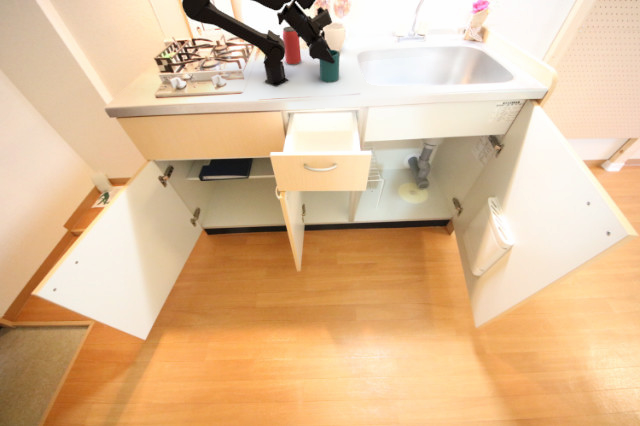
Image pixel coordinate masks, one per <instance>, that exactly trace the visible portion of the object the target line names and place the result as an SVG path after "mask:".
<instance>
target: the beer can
mask: <svg viewBox="0 0 640 426" xmlns="http://www.w3.org/2000/svg"><path fill="white" fill-rule="evenodd" d="M282 30H283V31H282V40H283V41H284V43H285V56H284V59H285V63H286V64H288V65H298V64H300V63H301V62H302V56H301V43H300V38H299V37H298V36H297V33H296V32H295V31H294V30H293V29H292V28H291V26H285V27H284V28H282Z"/></svg>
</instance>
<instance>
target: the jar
mask: <svg viewBox="0 0 640 426" xmlns="http://www.w3.org/2000/svg"><path fill="white" fill-rule="evenodd" d="M328 51H329V52H330V54H331V55H332V57H333V59H334V60H335V62H334V64H332V63H329V62H326V61H323V60H320V59H318V60H319V80H320V81H322V82H324V83H334V82H337V81H338V80H339V78H340V52H339V51H336V50H328Z"/></svg>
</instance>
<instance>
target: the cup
mask: <svg viewBox="0 0 640 426" xmlns="http://www.w3.org/2000/svg"><path fill="white" fill-rule="evenodd" d="M345 27H346V26H345V25H344V24H343V23H340V22H332V23H331V24H330V25H327V26H325V27H324V28H323V31H324V32H325V40H326V41H327V44H328V46H329V47H330V49H331V50H336V51H338V52H339V51H341V50H342V48H343V47H344V44H345V41H346V28H345ZM323 31H322V30H321V32H320V33H322V32H323Z"/></svg>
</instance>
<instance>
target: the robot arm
mask: <svg viewBox="0 0 640 426" xmlns="http://www.w3.org/2000/svg"><path fill="white" fill-rule="evenodd" d="M316 1H317V0H251V2H256V3H258V4H260V5H261V6H263V7H264V8H268V9H270V10H272V11H275V12H277V11H278V12H277V13H276V16H277V19H278V25H279V26H281V25H282V23H283V22H285V23H287V25H288V26H289V27H291V28H292V29H293V30H294V31H295V32H296V33H297V36H298V37H299V39H300V38H301V40H303V41H304V42H305V43H306V46H307V47H308V54H309V56H310V57H311V59H312V60H315V59H317V60H319V59H320V60H323V61H326V62H329V63H332V64H334V62H335V60H334V59H333V57H332V55H331V54H330V52H329V51H328V50H331V49H330V47H329V46H328V44H327V41H326V40H325V32H324V31H323V28H324V27H325V26H327V25H330V24H331V23H333V20H332V17H331V14H330V12H329V9H328V8H325V9H324V8H323V7H322V6H320V7H318V8H317V10H316V15H314V17H313V18H312V17H311V16H310V15H307V14H306V13H305V12H304V11H305V10H311V8H312V7H313V5H314V4H315V2H316ZM288 4H289V5H288ZM181 7H182V10H183V12H184V13H185V16H186V17H187V18H189V19H190V20H192V21H195V22H198V23H201V24H207V25H212V26H215V27H218V28H219V29H221V30H223V31H225V32H227V33H229V34H231V35H233V36H235V37H237V38H239V39H240V40H243V42H244V41H245V42H246V43H248V44H250V45H252V46H254V47H256V48H257V49H258V50H260V51H261V53H263V54H264V59H263V64H264V70H265V76H266V79H265V80H264V82H265V83H266V84H269V85H272V86H275V87H278V86H279V85H281V84H284V83H285V82H288V81H289V79H288V78H287V77H286V72H285V66H284V63H283V60H284V59H285V43H284V41H283V38H281V35H280V34H276V33H275V32H273V31H272V30H271V29H268V30H267V33H264V32H260V31H259V30H256V29H255V28H252V27H251V26H249V25H248V24H246V23H244V22H242V21H240V20H238V19H236V18H235V17H233V16H231V15H229V14H227V13H225V12H224V11H222V10H221V9H219V8H217V7H216V6H215V4H213V3H212V1H211V0H182V2H181ZM282 8H283V9H282ZM280 10H281V12H279V11H280ZM321 30H322V31H323V32H322V33H320V32H321Z"/></svg>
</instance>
